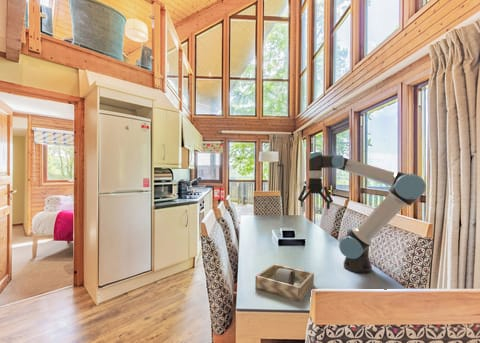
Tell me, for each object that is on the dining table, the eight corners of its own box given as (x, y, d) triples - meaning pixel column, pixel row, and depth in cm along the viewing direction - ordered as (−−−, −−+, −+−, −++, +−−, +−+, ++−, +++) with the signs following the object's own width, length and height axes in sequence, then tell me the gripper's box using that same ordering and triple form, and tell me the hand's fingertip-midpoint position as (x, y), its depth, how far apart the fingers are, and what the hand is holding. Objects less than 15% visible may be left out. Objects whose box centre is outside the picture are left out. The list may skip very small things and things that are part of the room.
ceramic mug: (280, 279, 127) (280, 264, 127) (295, 284, 122) (295, 268, 122) (270, 287, 119) (270, 271, 119) (285, 292, 114) (285, 276, 114)
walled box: (313, 285, 124) (313, 272, 125) (299, 302, 108) (300, 288, 108) (273, 274, 136) (273, 263, 136) (255, 288, 120) (255, 276, 120)
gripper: (293, 177, 153) (292, 212, 153) (335, 178, 140) (335, 216, 140) (297, 177, 160) (296, 210, 159) (338, 178, 146) (338, 214, 146)
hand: (314, 213), depth 150 cm, fingers open, 13 cm apart
